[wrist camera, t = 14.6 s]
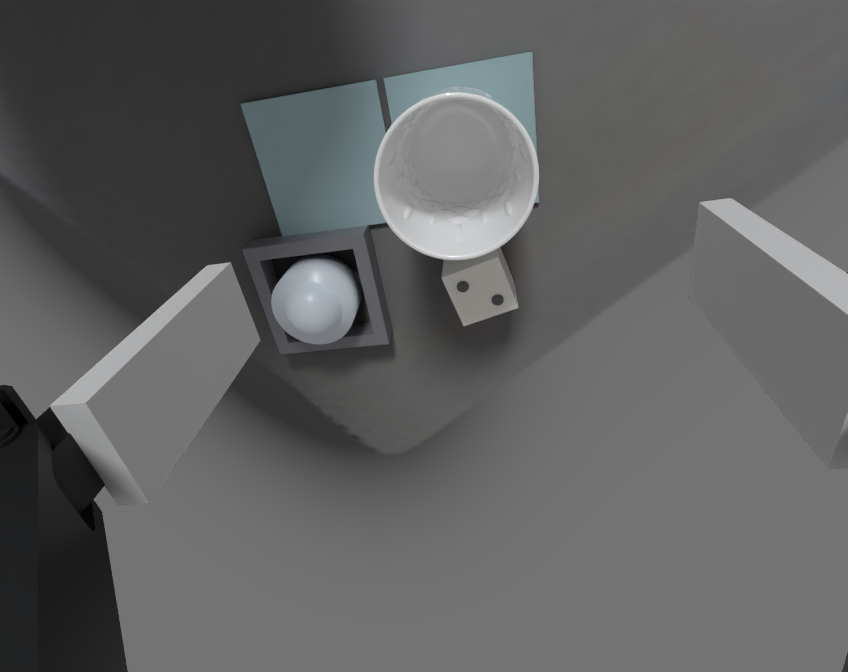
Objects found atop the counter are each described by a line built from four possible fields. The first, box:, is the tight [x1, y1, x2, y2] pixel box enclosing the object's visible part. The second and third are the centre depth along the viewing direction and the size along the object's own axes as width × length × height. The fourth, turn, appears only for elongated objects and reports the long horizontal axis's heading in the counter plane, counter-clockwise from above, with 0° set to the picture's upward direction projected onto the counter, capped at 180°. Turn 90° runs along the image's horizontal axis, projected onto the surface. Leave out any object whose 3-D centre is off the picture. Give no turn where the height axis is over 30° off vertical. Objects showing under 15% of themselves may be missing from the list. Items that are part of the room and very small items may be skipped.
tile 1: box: [240, 80, 387, 237], centre depth 34 cm, size 9×9×1 cm
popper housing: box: [242, 225, 393, 354], centre depth 38 cm, size 9×9×2 cm
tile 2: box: [384, 52, 539, 203], centre depth 33 cm, size 9×9×1 cm
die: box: [441, 247, 518, 326], centre depth 35 cm, size 4×4×4 cm
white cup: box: [374, 87, 539, 260], centre depth 28 cm, size 8×8×10 cm
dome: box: [271, 254, 362, 344], centre depth 36 cm, size 6×6×5 cm
